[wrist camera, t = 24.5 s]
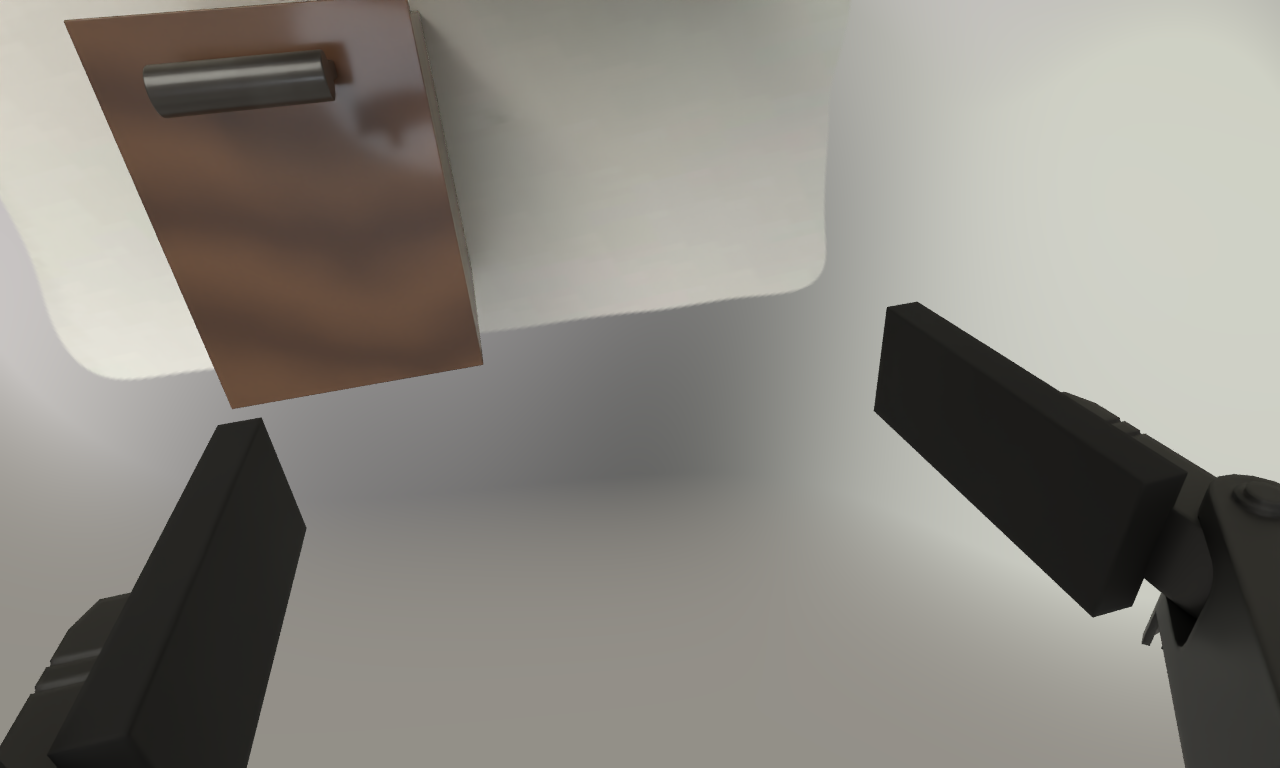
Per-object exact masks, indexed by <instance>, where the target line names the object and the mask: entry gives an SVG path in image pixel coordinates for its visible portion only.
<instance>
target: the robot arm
mask: <svg viewBox="0 0 1280 768" xmlns="http://www.w3.org/2000/svg"><path fill="white" fill-rule="evenodd" d="M874 411H875V412H876V413H877V414H878V415H879V416H880V417H881V418H882V419H883V420H884V421H885V422H886V423H887V424H888V425H890V427H892V428H893V429H894V430H895V431H896V432H897V433H898V434H899V435H900V436H901V437H902V438H903V439H904V440H906V442H907V443H909V444H910V445H911V446H912V447H913V448H914V449H915V450H916V451H917V452H918V453H919V454H920V455H921V456H922V457H923V458H924V459H925V460H926V461H928V462H929V463H930V464H931V465H932V466H933V467H934V468H935V469H936V470H937V471H938V472H939V473H940V474H941V475H942V476H943V477H944V478H946V479H947V480H948V481H949V482H950V483H951V484H952V485H953V486H954V487H955V488H956V489H957V490H958V491H959V492H960V493H961V494H962V495H964V496H965V497H966V498H967V499H968V500H969V501H970V502H971V503H972V504H973V505H974V506H975V507H976V508H977V509H978V510H980V512H982V513H983V514H984V515H985V516H986V517H987V518H988V519H989V520H990V521H991V522H992V523H993V524H994V525H996V527H997V528H999V529H1000V530H1001V531H1002V532H1003V533H1004V534H1005V535H1006V536H1007V537H1008V538H1009V539H1010V540H1011V541H1012V542H1014V544H1015V545H1016V546H1018V547H1019V548H1020V549H1021V550H1022V551H1023V552H1024V553H1025V554H1026V555H1027V556H1028V557H1029V558H1030V559H1031V560H1032V561H1033V562H1035V563H1036V564H1037V565H1038V566H1039V567H1040V568H1041V569H1042V570H1043V571H1044V572H1045V573H1046V574H1047V575H1048V576H1050V577H1051V578H1052V580H1054V581H1055V582H1056V583H1057V584H1058V585H1059V586H1060V587H1061V588H1062V589H1063V590H1064V591H1065V592H1066V593H1067V594H1068V595H1070V596H1071V597H1072V598H1073V599H1074V600H1075V601H1076V602H1077V603H1078V604H1079V605H1080V606H1081V607H1082V608H1083V609H1084V610H1085V611H1086V612H1087V613H1089V614H1090V615H1091V616H1092V617H1096V616H1099V615H1103V614H1107V613H1110V612H1114V611H1117V610H1121V609H1124V608H1128V607H1131V606H1132V605H1133V603H1134V601H1135V598H1136V596H1137V593H1138V591H1139V589H1140V586H1141V584H1142V581H1143V579H1144V578H1145V579H1146V580H1147V581H1148V582H1149V583H1151V584H1152V585H1153V586H1154V587H1156V588H1157V589H1158V590H1159V591H1160V592H1161V595H1160V597H1159V599H1158V602H1157V604H1156V606H1155V608H1154V611H1153V613H1152V615H1151V617H1150V620H1149V622H1148V624H1147V626H1146V629H1145V631H1144V633H1143V638H1142V644H1145V645H1148V646H1150V643H1151V642H1152V640H1153V637H1154V635H1155V634H1157V633H1159V632H1160V636H1161V641H1162V648H1161V649H1163V652H1164V657H1165V662H1166V667H1167V673H1168V678H1169V684H1170V689H1171V694H1172V700H1173V704H1174V710H1175V716H1176V720H1177V726H1178V731H1179V737H1180V742H1181V747H1182V753H1183V758H1184V763H1185V768H1280V484H1279V483H1277V482H1274V481H1271V480H1267V479H1263V478H1259V477H1255V476H1248V475H1237V474H1232V475H1225V476H1219V477H1215V476H1213V475H1212V474H1210V473H1209V472H1207V471H1205V470H1204V469H1202V468H1200V467H1199V466H1197V465H1195V464H1194V463H1192V462H1190V461H1189V460H1187V459H1186V458H1184V457H1182V456H1181V455H1179V454H1177V453H1176V452H1174V451H1172V450H1171V449H1169V448H1168V447H1166V446H1165V445H1163V444H1161V443H1160V442H1158V441H1156V440H1155V439H1153V438H1151V437H1150V436H1148V435H1146V434H1141V433H1140V430H1138V429H1137V428H1135V427H1134V426H1132V425H1130V424H1129V423H1127V422H1125V421H1124V422H1121V421H1120V418H1119V417H1117V416H1116V415H1114V414H1112V413H1111V412H1109V411H1107V410H1106V409H1104V408H1103V407H1101V406H1099V405H1098V404H1096V403H1094V402H1091V401H1088V400H1086V399H1083V398H1080V397H1078V396H1075V395H1072V394H1069V393H1067V392H1060V391H1058V390H1056V389H1055V388H1053V387H1052V386H1050V385H1049V384H1047V383H1046V382H1044V381H1042V380H1041V379H1039V378H1037V377H1036V376H1034V375H1033V374H1031V373H1030V372H1028V371H1026V370H1025V369H1023V368H1022V367H1020V366H1019V365H1017V364H1015V363H1014V362H1012V361H1011V360H1009V359H1007V358H1006V357H1004V356H1003V355H1001V354H1000V353H998V352H996V351H995V350H993V349H992V348H990V347H988V346H987V345H985V344H984V343H982V342H980V341H979V340H977V339H976V338H974V337H973V336H971V335H969V334H968V333H966V332H965V331H963V330H961V329H960V328H958V327H957V326H955V325H953V324H952V323H950V322H949V321H947V320H946V319H944V318H942V317H941V316H939V315H938V314H936V313H934V312H933V311H931V310H930V309H928V308H927V307H925V306H923V305H922V304H920V303H918V302H913V303H907V304H902V305H896V306H890V307H887V310H886V319H885V327H884V334H883V342H882V350H881V359H880V366H879V375H878V382H877V390H876V398H875V406H874ZM305 532H306V526H305V523H304V521H303V518H302V516H301V514H300V511H299V508H298V506H297V504H296V501H295V499H294V496H293V494H292V491H291V489H290V486H289V484H288V482H287V479H286V477H285V474H284V472H283V469H282V467H281V464H280V462H279V459H278V457H277V454H276V452H275V450H274V447H273V445H272V442H271V440H270V437H269V435H268V432H267V430H266V428H265V425H264V423H263V420H262V418H256V419H250V420H245V421H239V422H233V423H228V424H222V425H218V426H217V428H216V430H215V432H214V434H213V435H212V438H211V439H210V441H209V443H208V445H207V447H206V449H205V451H204V453H203V455H202V457H201V459H200V460H199V462H198V464H197V466H196V468H195V470H194V472H193V474H192V476H191V478H190V480H189V482H188V484H187V486H186V488H185V489H184V491H183V493H182V495H181V497H180V499H179V501H178V503H177V505H176V507H175V509H174V511H173V513H172V514H171V516H170V518H169V520H168V522H167V524H166V526H165V528H164V530H163V532H162V534H161V536H160V538H159V540H158V541H157V543H156V545H155V547H154V549H153V551H152V553H151V555H150V557H149V559H148V561H147V563H146V565H145V567H144V568H143V570H142V572H141V574H140V576H139V578H138V580H137V582H136V584H135V586H134V588H133V590H132V592H131V593H127V594H122V595H118V596H113V597H108V598H104V599H100V600H99V601H98V602H97V603H96V604H95V605H93V607H91V608H90V609H89V610H88V611H87V612H86V613H85V614H84V615H83V616H82V617H81V618H80V619H79V620H78V621H77V622H76V623H75V624H74V625H73V626H72V627H71V628H70V629H69V630H68V631H67V633H66V635H65V636H64V638H63V640H62V642H61V643H60V645H59V647H58V649H57V650H56V652H55V653H54V655H53V657H52V659H51V660H50V662H51V665H50V667H46V669H45V671H44V672H43V674H42V676H41V677H40V679H39V681H38V682H37V684H36V686H35V693H34V694H30V696H29V698H28V699H27V701H26V703H25V704H24V706H23V708H22V710H21V711H20V713H19V715H18V716H17V718H16V720H15V722H14V723H13V725H12V727H11V728H10V730H9V732H8V733H7V735H6V737H5V739H4V740H3V742H2V744H1V745H0V768H247V764H248V760H249V756H250V752H251V748H252V744H253V740H254V736H255V732H256V728H257V724H258V720H259V716H260V712H261V708H262V704H263V700H264V696H265V692H266V688H267V684H268V680H269V676H270V672H271V668H272V664H273V660H274V656H275V652H276V647H277V644H278V640H279V636H280V632H281V628H282V624H283V620H284V616H285V612H286V608H287V604H288V600H289V596H290V592H291V588H292V584H293V580H294V576H295V572H296V568H297V564H298V560H299V556H300V552H301V548H302V544H303V540H304V536H305Z"/></svg>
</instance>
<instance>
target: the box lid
mask: <svg viewBox="0 0 1280 768" xmlns="http://www.w3.org/2000/svg"><path fill="white" fill-rule="evenodd" d="M64 23H65V25H66V28H67V30H68V32H69V35H70V37H71V39H72V42H73V44H74V46H75V48H76V51H77V53H78V55H79V58H80V60H81V62H82V65H83V67H84V69H85V71H86V74H87V76H88V78H89V81H90V83H91V85H92V88H93V90H94V92H95V94H96V97H97V99H98V101H99V104H100V106H101V108H102V111H103V113H104V115H105V118H106V120H107V122H108V124H109V127H110V129H111V131H112V134H113V136H114V138H115V141H116V143H117V145H118V147H119V150H120V152H121V154H122V157H123V159H124V161H125V164H126V166H127V168H128V170H129V173H130V175H131V177H132V180H133V182H134V184H135V187H136V189H137V191H138V194H139V196H140V198H141V200H142V203H143V205H144V207H145V210H146V212H147V214H148V217H149V219H150V221H151V223H152V226H153V228H154V230H155V233H156V235H157V237H158V240H159V242H160V244H161V246H162V249H163V251H164V253H165V256H166V258H167V260H168V263H169V265H170V267H171V269H172V272H173V274H174V276H175V279H176V281H177V283H178V286H179V288H180V290H181V293H182V295H183V297H184V299H185V302H186V304H187V306H188V309H189V311H190V313H191V316H192V318H193V320H194V322H195V325H196V327H197V329H198V332H199V334H200V336H201V339H202V341H203V343H204V345H205V348H206V350H207V352H208V355H209V357H210V359H211V362H212V364H213V366H214V369H215V371H216V373H217V375H218V377H219V380H220V382H221V385H222V387H223V389H224V392H225V394H226V396H227V398H228V401H229V403H230V405H231V407H232V409H235V408H240V407H247V406H252V405H257V404H264V403H269V402H275V401H281V400H286V399H292V398H297V397H303V396H309V395H315V394H320V393H326V392H331V391H337V390H343V389H349V388H354V387H360V386H365V385H371V384H377V383H382V382H388V381H393V380H400V379H405V378H411V377H416V376H422V375H428V374H433V373H439V372H444V371H450V370H456V369H462V368H468V367H473V366H478V365H483V357H482V352H481V348H480V343H479V338H478V333H477V329H476V324H475V319H474V314H473V309H472V305H471V300H470V295H469V290H468V285H467V281H466V276H465V271H464V266H463V262H462V257H461V252H460V247H459V242H458V238H457V233H456V228H455V223H454V218H453V214H452V209H451V204H450V199H449V195H448V190H447V185H446V180H445V175H444V171H443V166H442V161H441V156H440V151H439V147H438V142H437V137H436V132H435V127H434V123H433V118H432V113H431V108H430V104H429V99H428V94H427V89H426V84H425V80H424V75H423V70H422V65H421V60H420V56H419V51H418V46H417V41H416V37H415V32H414V27H413V22H412V17H411V13H410V8H409V3H408V0H317V1H305V2H292V3H279V4H266V5H253V6H241V7H228V8H215V9H202V10H189V11H176V12H164V13H151V14H138V15H125V16H112V17H99V18H87V19H74V20H64Z"/></svg>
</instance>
